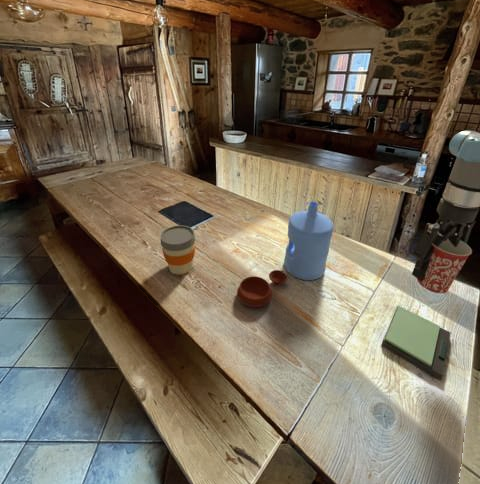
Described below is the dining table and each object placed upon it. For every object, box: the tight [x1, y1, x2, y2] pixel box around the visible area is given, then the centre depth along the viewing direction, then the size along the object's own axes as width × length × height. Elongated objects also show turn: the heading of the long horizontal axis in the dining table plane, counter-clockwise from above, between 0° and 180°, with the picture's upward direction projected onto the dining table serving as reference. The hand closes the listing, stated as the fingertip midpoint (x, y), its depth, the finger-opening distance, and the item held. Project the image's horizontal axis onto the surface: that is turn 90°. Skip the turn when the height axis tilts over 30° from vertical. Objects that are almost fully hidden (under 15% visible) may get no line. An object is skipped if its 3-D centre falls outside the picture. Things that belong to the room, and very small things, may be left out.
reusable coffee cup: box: [160, 224, 196, 275], centre depth 100 cm, size 13×13×15 cm
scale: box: [380, 305, 451, 381], centre depth 76 cm, size 14×16×3 cm
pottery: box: [236, 269, 288, 308], centre depth 91 cm, size 12×20×4 cm, turn 127°
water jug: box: [283, 201, 334, 281], centre depth 98 cm, size 16×16×28 cm
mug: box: [416, 233, 473, 295], centre depth 72 cm, size 13×9×14 cm
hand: (429, 274), depth 74 cm, fingers closed on mug, 8 cm apart
